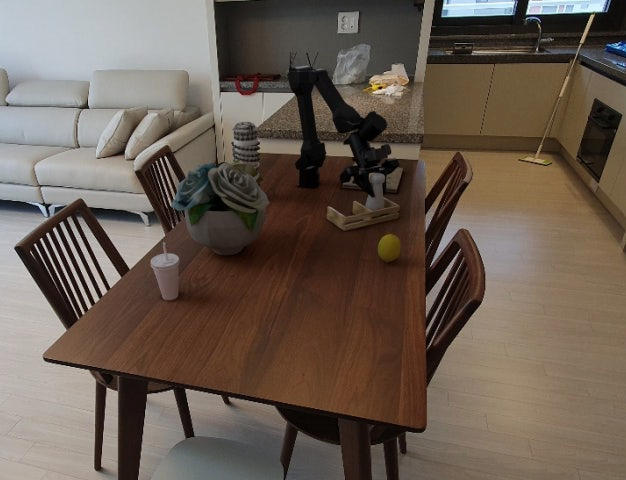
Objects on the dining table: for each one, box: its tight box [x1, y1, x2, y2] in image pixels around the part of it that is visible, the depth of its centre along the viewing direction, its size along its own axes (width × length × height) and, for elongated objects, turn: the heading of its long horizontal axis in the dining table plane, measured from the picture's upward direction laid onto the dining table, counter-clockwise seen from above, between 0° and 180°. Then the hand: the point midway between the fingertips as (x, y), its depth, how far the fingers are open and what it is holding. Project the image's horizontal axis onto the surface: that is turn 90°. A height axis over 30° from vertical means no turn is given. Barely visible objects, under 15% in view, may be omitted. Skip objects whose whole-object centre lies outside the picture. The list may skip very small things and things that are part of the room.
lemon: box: [377, 233, 402, 263], centre depth 116 cm, size 6×6×8 cm
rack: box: [326, 196, 401, 232], centre depth 140 cm, size 10×20×4 cm, turn 114°
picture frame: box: [342, 162, 404, 194], centre depth 169 cm, size 19×2×24 cm
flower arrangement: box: [170, 160, 271, 256], centre depth 120 cm, size 25×25×24 cm
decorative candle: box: [230, 121, 261, 189], centre depth 150 cm, size 9×9×25 cm
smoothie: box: [150, 242, 181, 301], centre depth 104 cm, size 6×6×14 cm
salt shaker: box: [364, 173, 385, 218], centre depth 140 cm, size 6×6×13 cm
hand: (379, 195), depth 138 cm, fingers open, 4 cm apart
